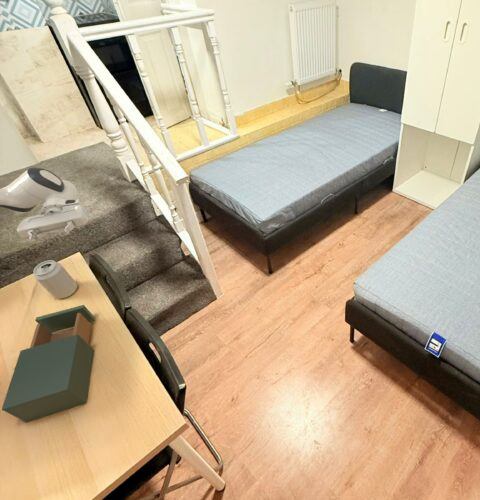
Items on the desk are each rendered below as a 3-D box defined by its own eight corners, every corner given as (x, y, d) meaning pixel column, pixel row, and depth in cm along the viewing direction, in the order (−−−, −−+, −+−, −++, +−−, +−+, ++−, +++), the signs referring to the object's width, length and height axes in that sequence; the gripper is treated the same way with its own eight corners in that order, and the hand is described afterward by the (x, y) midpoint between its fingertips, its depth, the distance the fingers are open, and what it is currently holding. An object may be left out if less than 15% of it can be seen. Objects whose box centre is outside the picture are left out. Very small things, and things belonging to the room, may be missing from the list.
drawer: (51, 326, 100) (36, 314, 95) (96, 314, 103) (84, 301, 98) (38, 374, 90) (21, 362, 85) (88, 359, 92) (75, 347, 87)
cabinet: (41, 365, 92) (20, 350, 86) (94, 350, 95) (78, 334, 89) (26, 422, 82) (1, 409, 76) (86, 403, 85) (67, 389, 79)
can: (80, 279, 114) (59, 255, 106) (77, 295, 109) (55, 271, 101) (55, 286, 113) (33, 262, 104) (51, 303, 108) (27, 279, 99)
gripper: (18, 211, 114) (6, 237, 105) (83, 198, 119) (77, 221, 109) (30, 225, 119) (19, 251, 109) (92, 212, 123) (87, 236, 114)
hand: (49, 236), depth 109 cm, fingers open, 8 cm apart
